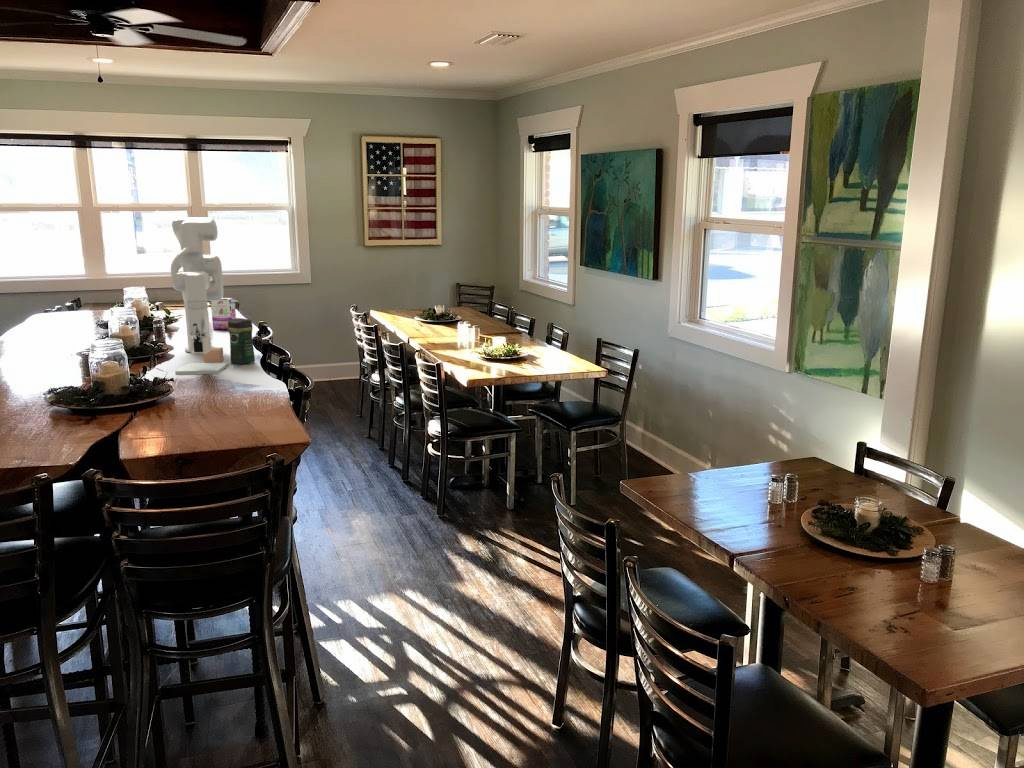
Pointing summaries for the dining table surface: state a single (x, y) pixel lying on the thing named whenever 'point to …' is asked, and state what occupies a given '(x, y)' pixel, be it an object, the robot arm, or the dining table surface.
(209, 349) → the cream block
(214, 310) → the candy bar box
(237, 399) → the dining table surface
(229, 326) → the coffee jar
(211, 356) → the terracotta block
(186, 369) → the board
